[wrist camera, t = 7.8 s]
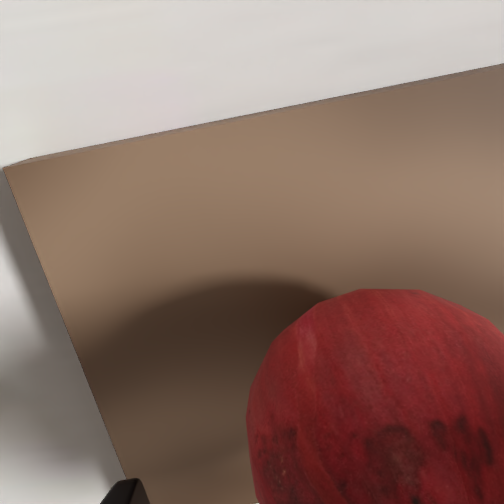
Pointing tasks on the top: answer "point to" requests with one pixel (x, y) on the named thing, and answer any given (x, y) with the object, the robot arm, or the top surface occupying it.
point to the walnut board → (257, 252)
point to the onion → (380, 404)
